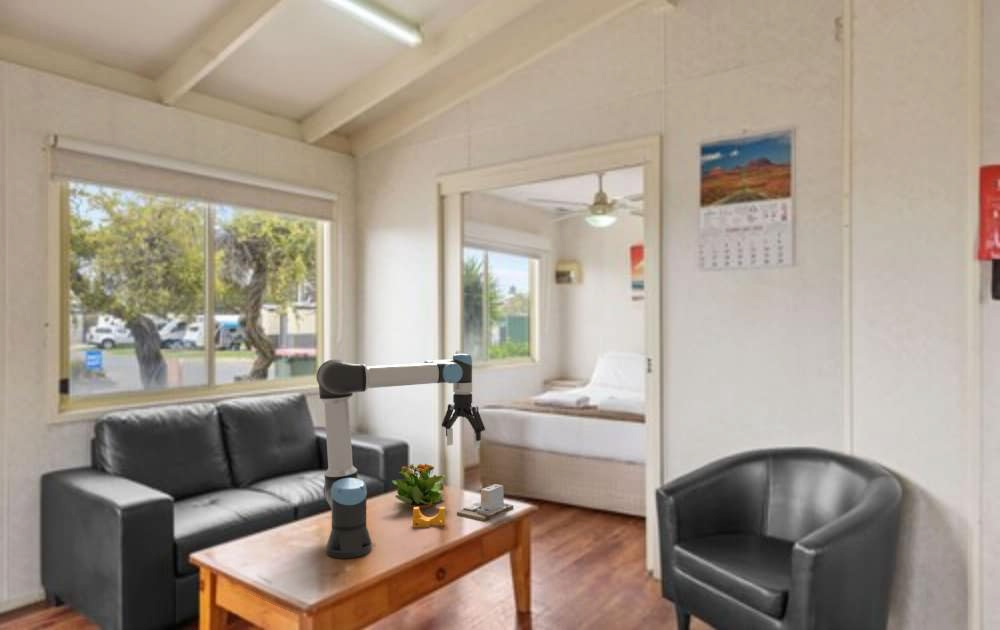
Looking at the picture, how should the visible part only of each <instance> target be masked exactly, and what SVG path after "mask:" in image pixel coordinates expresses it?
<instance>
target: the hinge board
mask: <svg viewBox="0 0 1000 630" xmlns="http://www.w3.org/2000/svg"><path fill="white" fill-rule="evenodd" d="M507 504H508V507H507V508H505V509H503V510H501V511H498V512H496V513H494V514H491V515H489V516H488V515H484V514H480V513H477V509H481V500H480V501H478V502H475V503H473V504H470V505H468V506H465V507H463V508H462V509H460V510H458V511H456V515H457V516H460V517H464V516H465V517H466V518H469V519H474V520H477V521H482V522H486V521H488V520H490V519H493V518H495V517H496V516H499V515H501V514H504V513H506V512H508V511H510V510H513V509H514V505H513V504H509V503H507ZM465 517H464V518H465Z"/></svg>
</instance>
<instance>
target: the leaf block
mask: <svg viewBox="0 0 1000 630" xmlns="http://www.w3.org/2000/svg"><path fill="white" fill-rule="evenodd" d="M504 497H505V496H504V485H503V484H498V483H495V484H492V485H490V486H487V487H484V488H481V489H480V501H481V510H485V511H489V512H490V513H492V512H494V511H496V510H499V509H501V508H503V507H504V503H505V502H504Z"/></svg>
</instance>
